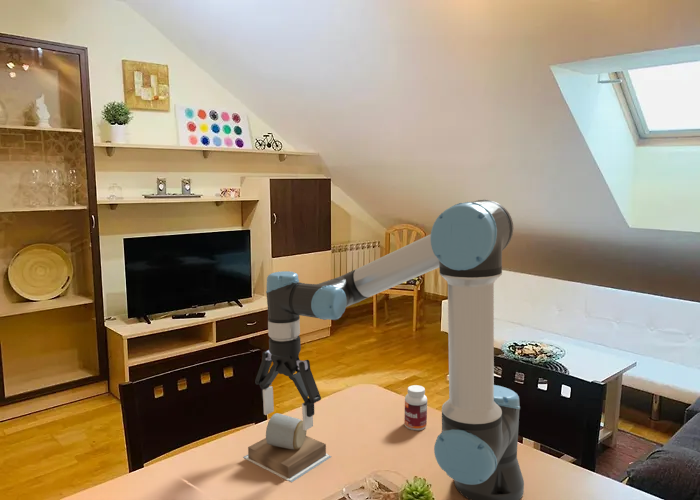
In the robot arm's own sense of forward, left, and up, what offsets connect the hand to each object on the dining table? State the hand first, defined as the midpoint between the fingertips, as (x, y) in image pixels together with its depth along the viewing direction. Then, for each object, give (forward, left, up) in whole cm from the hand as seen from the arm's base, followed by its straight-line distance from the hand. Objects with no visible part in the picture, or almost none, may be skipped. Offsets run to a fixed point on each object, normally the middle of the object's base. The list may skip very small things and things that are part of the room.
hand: (287, 420), depth 131 cm
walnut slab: (0, 0, -10) cm, 10 cm away
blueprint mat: (0, 0, -10) cm, 10 cm away
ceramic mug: (+1, -1, -7) cm, 7 cm away
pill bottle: (-16, -34, -10) cm, 39 cm away
